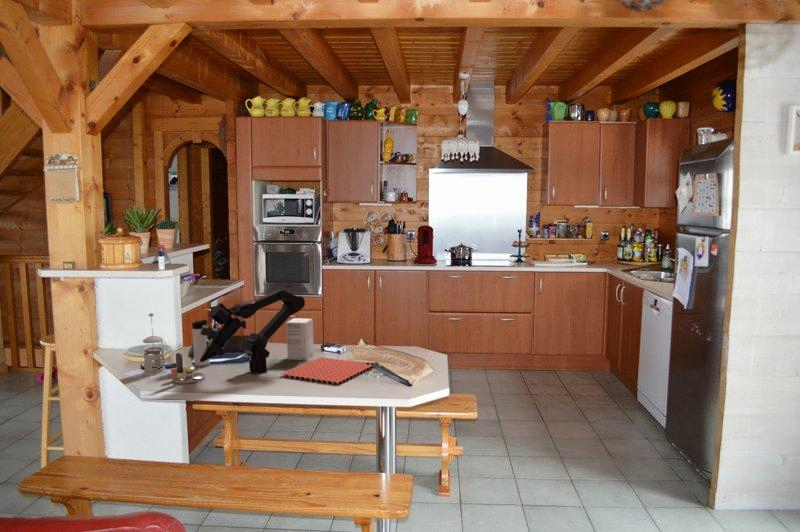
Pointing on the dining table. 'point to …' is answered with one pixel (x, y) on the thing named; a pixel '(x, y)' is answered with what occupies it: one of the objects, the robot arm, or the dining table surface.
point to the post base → (189, 380)
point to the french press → (156, 356)
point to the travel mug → (199, 343)
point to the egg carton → (327, 370)
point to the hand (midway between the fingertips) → (200, 361)
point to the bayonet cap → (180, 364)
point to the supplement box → (300, 339)
